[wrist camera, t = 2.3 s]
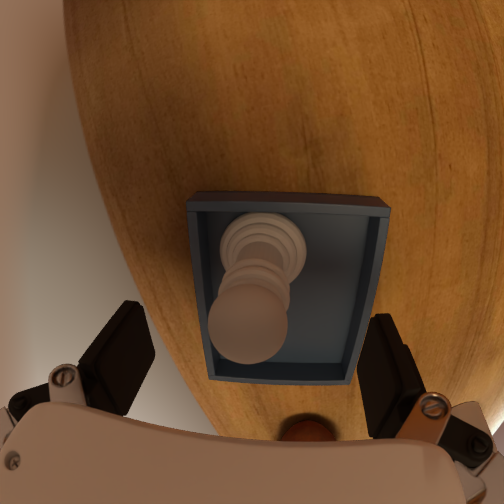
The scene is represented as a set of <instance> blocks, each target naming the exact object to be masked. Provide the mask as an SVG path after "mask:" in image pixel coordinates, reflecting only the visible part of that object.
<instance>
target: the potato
mask: <svg viewBox="0 0 504 504" xmlns="http://www.w3.org/2000/svg"><path fill="white" fill-rule="evenodd" d="M281 441H289V442H326V441H336V440H335V438H334V436H333V434H332V433H331V432H330V431H329V430H327V429H326V428H325V427H324V426H323V425H321V424H319V423H317V422H315V421H310V420H306V421H302V422H299V423H297V424H295V425H293V426H292V427H291V428H290V429H289V430H288V431H287V432H286V433H285V435H284V436H283V437H282V439H281Z"/></svg>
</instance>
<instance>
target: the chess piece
mask: <svg viewBox="0 0 504 504" xmlns="http://www.w3.org/2000/svg"><path fill="white" fill-rule="evenodd" d="M306 255H307V248H306V242H305V239H304V237H303V234H302V233H301V231H300V229H299V228H298V227H297V226H296V225H295V224H294V223H293V222H292V221H291V220H290V219H288V218H287V217H285V216H283V215H281V214H279V213H276V212H249V213H245V214H243V215H241V216H239V217H238V218H236V219H235V220H233V221H232V222H231V223H230V224H229V225H228V226H227V228H226V229H225V231H224V233H223V235H222V238H221V241H220V257H221V261H222V264H223V266H224V268H225V270H226V272H225V274H224V276H223V279H222V283H221V285H220V287H219V291H218V297H217V298H216V300H215V301H214V303H213V304H212V306H211V309H210V312H209V316H208V331H209V336H210V339H211V341H212V343H213V345H214V347H215V348H216V349H217V351H218V352H219V353H220V354H221V355H223V356H224V357H225V358H227V359H229V360H231V361H234V362H237V363H241V364H255V363H259V362H262V361H265V360H267V359H269V358H271V357H272V356H273V355H275V354H276V353H277V352H278V351H279V349H280V348H281V347H282V345H283V343H284V341H285V338H286V335H287V328H288V320H287V314H286V311H287V309H288V307H289V303H290V294H289V292H290V285H289V283H291V282H292V281H293V280H294V279H295V278H296V277H297V276H298V275H299V273H300V272H301V270H302V268H303V266H304V264H305V260H306Z"/></svg>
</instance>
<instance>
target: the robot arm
mask: <svg viewBox="0 0 504 504" xmlns="http://www.w3.org/2000/svg"><path fill="white" fill-rule="evenodd" d="M154 358H155V349H154V346H153V343H152V339H151V335H150V332H149V328H148V324H147V320H146V316H145V312H144V308H143V306H141V305H140V303H139V302H137V301H128V300H126V301H124V302H123V304H122V305H121V306H120V307H119V309H118V310H117V311H116V312H115V314H114V315H113V316H112V317H111V319H110V320H109V321H108V323H107V324H106V325H105V327H104V328H103V329H102V330H101V332H100V333H99V334H98V336H97V337H96V338H95V340H94V341H93V342H92V343H91V345H90V346H89V348H88V349H87V350H86V352H85V353H84V354H83V356H82V357H81V358H80V360H79V361H78V362H79V364H78V366H77V367H76V366H75V365H72V364H62V365H59V366H57V367H56V368H54V369H53V371H52V372H51V373H50V375H49V379H48V381H49V382H48V383H45V384H42V385H39V386H36V387H33V388H30V389H27V390H24V391H21V392H18V393H16V394H15V395H14V396H13V397H12V398H11V399H10V401H9V404H8V408H7V409H6V408H5V407H3V408H1V409H0V504H504V456H502V455H501V453H500V452H499V451H498V452H497V453H495V452H494V451H493V442H492V439H491V437H490V436H489V435H488V434H487V433H485V432H484V431H482V430H480V429H478V428H476V427H474V426H472V425H470V424H469V423H467V422H465V421H463V420H461V419H459V418H457V417H455V416H453V415H452V414H451V411H452V407H451V404H450V402H449V400H448V399H447V398H446V397H445V396H444V395H442V394H440V393H437V392H426V389H425V387H424V384H423V381H422V379H421V376H420V374H419V371H418V369H417V366H416V364H415V361H414V359H413V356H412V354H411V352H410V349H409V347H408V346H407V345H406V344H403V342H402V340H401V337H400V335H399V333H398V330H397V328H396V326H395V324H394V321H393V319H392V317H391V315H390V314H389V313H385V314H376V315H375V316H374V317H371V319H370V322H369V325H368V329H367V333H366V337H365V340H364V344H363V347H362V351H361V354H360V357H359V361H358V364H357V375H358V380H359V384H360V390H361V395H362V400H363V405H364V411H365V416H366V422H367V428H368V434H369V437H373V439H368V440H353V441H326V442H289V441H267V440H253V439H241V438H232V437H223V436H215V435H208V434H202V433H196V432H190V431H184V430H179V429H174V428H168V427H164V426H159V425H155V424H150V423H146V422H142V421H138V420H134V419H131V418H127V417H123V415H124V416H125V415H127V413H128V411H129V409H130V407H131V405H132V403H133V401H134V399H135V397H136V395H137V393H138V391H139V389H140V387H141V384H142V383H143V380H144V379H145V377H146V375H147V372H148V370H149V369H150V367H151V365H152V363H153V361H154Z"/></svg>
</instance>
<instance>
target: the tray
mask: <svg viewBox="0 0 504 504" xmlns="http://www.w3.org/2000/svg"><path fill="white" fill-rule="evenodd" d="M186 210H187V221H188V232H189V242H190V251H191V260H192V269H193V277H194V285H195V293H196V301H197V308H198V315H199V322H200V329H201V335H202V342H203V348H204V354H205V360H206V366H207V372H208V377H209V380H218V381H228V382H240V383H253V384H271V385H350V382H351V379H352V376H353V373H354V370H355V367H356V364H357V361H358V358H359V354H360V351H361V348H362V344H363V341H364V337H365V334H366V330H367V326H368V322H369V319H370V315H371V311H372V307H373V303H374V298H375V294H376V290H377V285H378V280H379V276H380V271H381V266H382V261H383V255H384V250H385V244H386V238H387V232H388V226H389V217H390V211H391V208H390V207H389V206H388V205H387V204H386V203H385V202H384V201H382V200H381V199H380V198H379V197H372V196H358V195H341V194H323V193H298V192H256V191H206V192H196V193H195V194H194V195H193V196H192V197H191V198H190V199H188V200H187V201H186ZM249 212H276V213H279V214H281V215H283V216H285V217H287V218H288V219H290V220H291V221H292V222H293V223H294V224H295V225H296V226H297V227H298V228H299V229H300V231H301V233H302V234H303V237H304V239H305V242H306V248H307V255H306V260H305V264H304V266H303V268H302V270H301V272H300V273H299V275H298V276H297V277H296V278H295V279H294V280H293V281H292V282H291V283H289V285H290V292H289V294H290V303H289V307H288V309H287V311H286V314H287V320H288V328H287V335H286V338H285V341H284V343H283V345H282V347H281V348H280V349H279V351H278V352H277V353H276V354H275V355H273V356H272V357H271V358H269V359H267V360H265V361H262V362H259V363H255V364H241V363H237V362H234V361H231V360H229V359H227V358H225V357H224V356H223V355H221V354H220V353H219V352H218V351H217V349H216V348H215V347H214V345H213V343H212V341H211V339H210V336H209V331H208V316H209V312H210V309H211V306H212V304H213V303H214V301H215V300H216V298H217V297H218V291H219V287H220V285H221V283H222V279H223V276H224V274H225V272H226V270H225V268H224V266H223V264H222V261H221V257H220V241H221V238H222V235H223V233H224V231H225V229H226V228H227V226H228V225H229V224H230V223H231V222H232V221H233V220H235V219H236V218H238V217H239V216H241V215H243V214H245V213H249Z"/></svg>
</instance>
